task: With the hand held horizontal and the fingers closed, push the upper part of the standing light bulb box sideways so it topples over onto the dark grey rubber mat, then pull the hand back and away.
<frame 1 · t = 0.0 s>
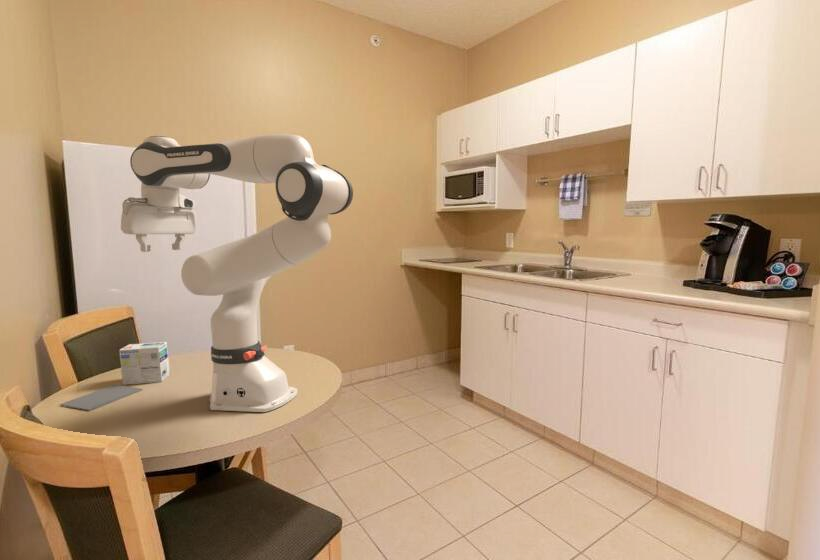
hand: (161, 250, 111), 39 cm above the table, tool pointing down, fingers open, 8 cm apart
light bulb box: (147, 380, 121), on the table
mat: (103, 397, 108), on the table
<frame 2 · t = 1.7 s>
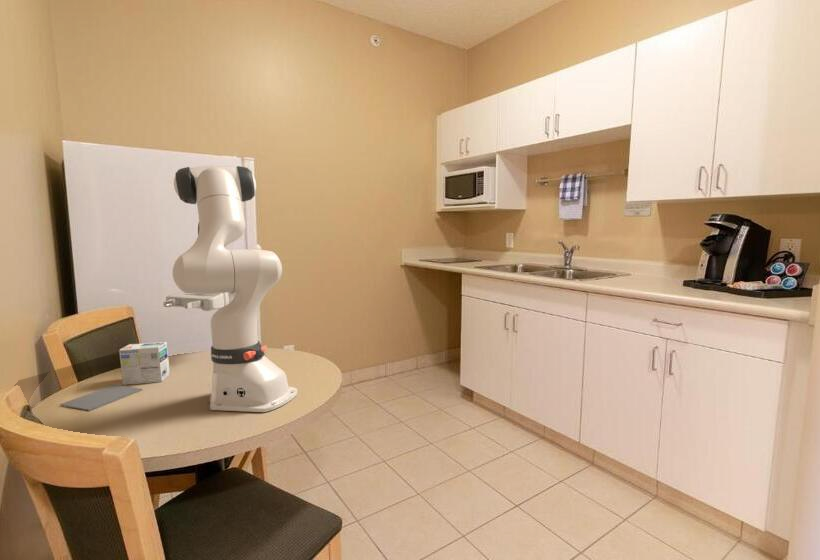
hand: (175, 305, 130), 21 cm above the table, tool horizontal, fingers open, 7 cm apart
nothing on the table moved.
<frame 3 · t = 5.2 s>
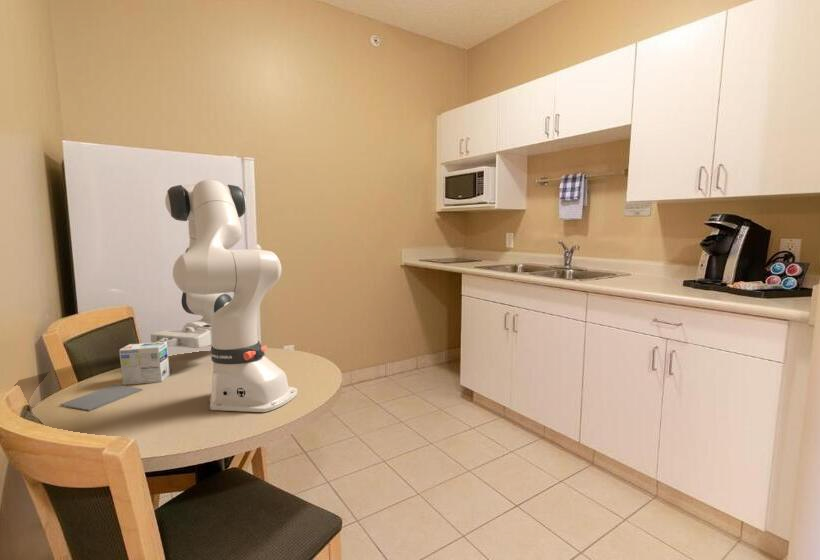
hand: (159, 345, 125), 9 cm above the table, tool horizontal, fingers closed
light bulb box: (147, 380, 121), on the table, touching gripper
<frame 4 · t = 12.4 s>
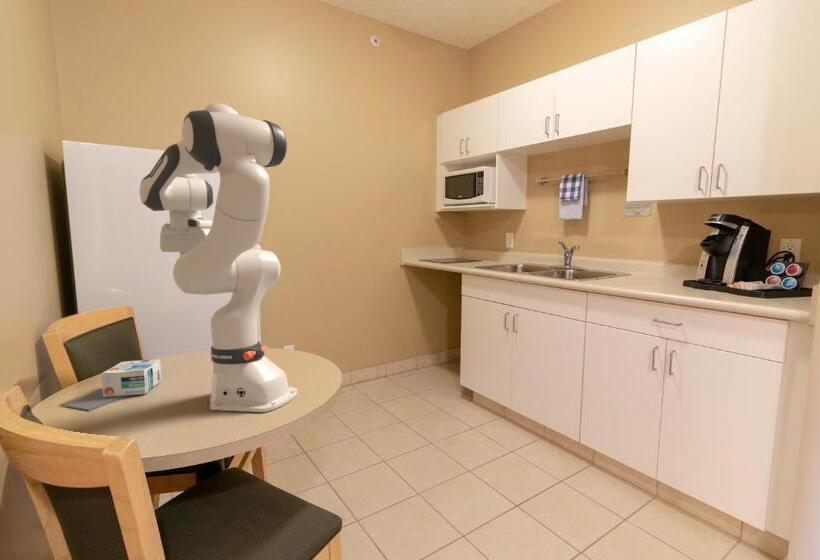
hand: (189, 266, 129), 33 cm above the table, tool pointing down, fingers closed
light bulb box: (141, 371, 118), point 4 cm above the table, touching mat
at the end: light bulb box tilted 89°; light bulb box inside the target area (10.4 cm from its centre), point 3.6 cm above the table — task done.
